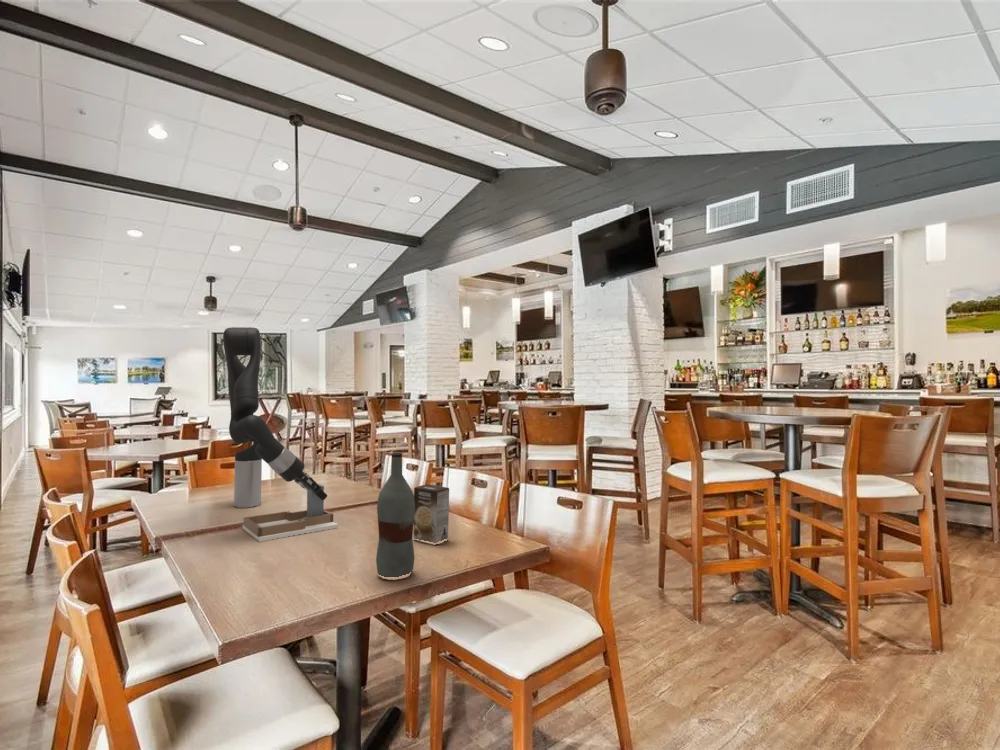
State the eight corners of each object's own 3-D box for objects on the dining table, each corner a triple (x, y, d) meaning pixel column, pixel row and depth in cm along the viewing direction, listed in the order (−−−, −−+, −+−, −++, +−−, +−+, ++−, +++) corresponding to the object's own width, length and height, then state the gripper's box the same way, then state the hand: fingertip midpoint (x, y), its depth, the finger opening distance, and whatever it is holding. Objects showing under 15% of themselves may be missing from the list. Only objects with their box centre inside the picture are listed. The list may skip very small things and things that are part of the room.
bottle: (379, 584, 125) (381, 456, 125) (372, 571, 133) (374, 451, 133) (418, 578, 128) (420, 454, 129) (409, 566, 137) (411, 449, 137)
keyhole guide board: (242, 528, 169) (242, 516, 169) (316, 516, 185) (316, 506, 185) (259, 541, 156) (259, 529, 156) (337, 527, 171) (338, 516, 171)
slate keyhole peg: (302, 520, 176) (303, 485, 176) (320, 517, 180) (320, 483, 180) (309, 523, 171) (310, 488, 171) (327, 520, 175) (328, 485, 175)
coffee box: (411, 540, 158) (412, 487, 158) (425, 535, 164) (426, 483, 164) (435, 546, 153) (436, 490, 154) (449, 540, 159) (450, 487, 159)
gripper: (302, 457, 165) (338, 491, 173) (286, 452, 176) (321, 484, 184) (284, 476, 162) (322, 509, 170) (269, 469, 173) (306, 501, 181)
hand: (321, 496), depth 177 cm, fingers open, 5 cm apart
